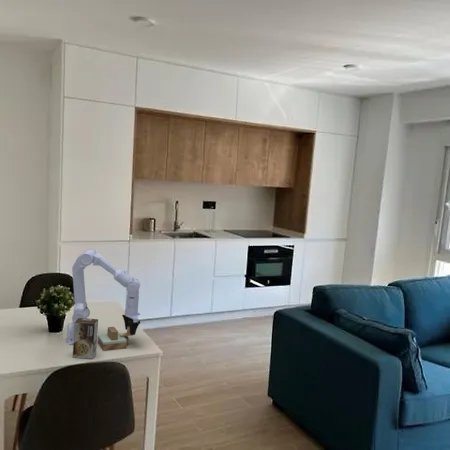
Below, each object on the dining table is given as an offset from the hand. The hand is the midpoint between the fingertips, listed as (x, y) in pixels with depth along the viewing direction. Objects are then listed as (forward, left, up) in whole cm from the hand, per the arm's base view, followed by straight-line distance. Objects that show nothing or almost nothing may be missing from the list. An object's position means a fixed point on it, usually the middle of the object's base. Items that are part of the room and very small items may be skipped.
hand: (130, 332), depth 217 cm
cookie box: (-23, -8, -6) cm, 25 cm away
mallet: (-2, 0, -2) cm, 3 cm away
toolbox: (-8, 0, -6) cm, 10 cm away
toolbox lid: (-9, 0, -3) cm, 9 cm away
